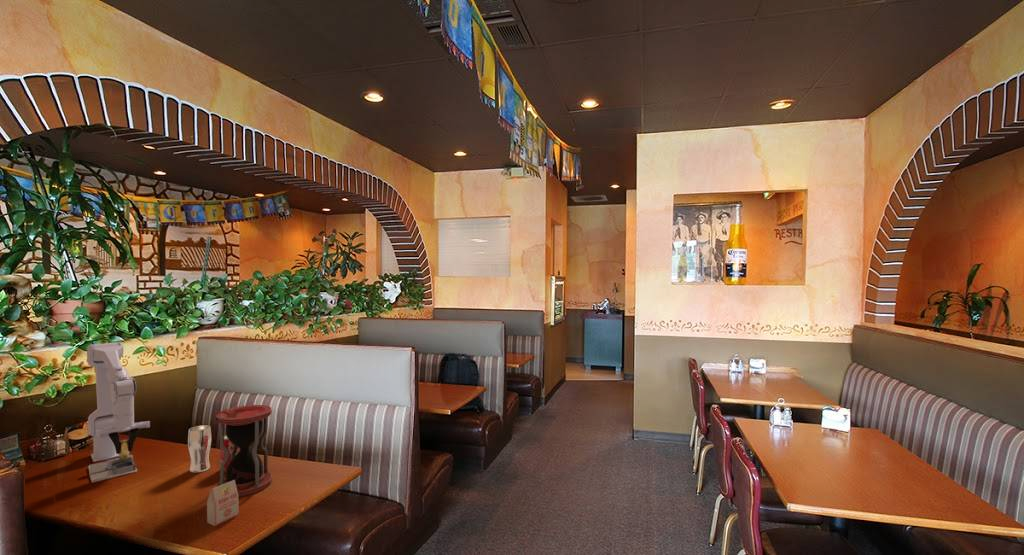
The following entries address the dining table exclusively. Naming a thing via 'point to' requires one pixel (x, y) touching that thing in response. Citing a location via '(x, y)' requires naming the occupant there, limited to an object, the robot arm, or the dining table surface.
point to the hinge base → (99, 472)
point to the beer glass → (199, 448)
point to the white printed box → (222, 503)
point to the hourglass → (245, 447)
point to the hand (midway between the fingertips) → (124, 451)
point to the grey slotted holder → (116, 462)
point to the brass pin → (124, 449)
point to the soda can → (230, 447)
